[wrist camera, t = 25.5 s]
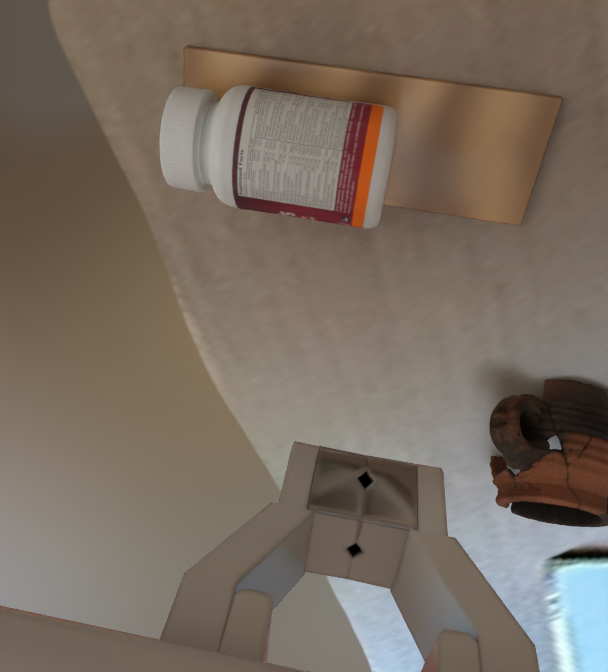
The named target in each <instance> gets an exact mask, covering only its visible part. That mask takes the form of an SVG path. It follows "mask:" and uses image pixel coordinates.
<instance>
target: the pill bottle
mask: <svg viewBox="0 0 608 672" xmlns="http://www.w3.org/2000/svg"><path fill="white" fill-rule="evenodd" d="M397 125H398V113H397V111H396V110H395V109H394V108H392V107H390V106H384V105H378V104H371V103H363V102H356V101H349V100H343V99H335V98H327V97H321V96H313V95H307V94H299V93H294V92H286V91H279V90H273V89H267V88H262V87H256V86H248V85H239V86H235V87H233V88H231V89H230V90H228V91H227V92H226V93H225V94H224V96H223V97H222V99H221V100H220V102H219V100H218V97H217V95H216V93H215V92H214V91H212V90H209V89H198V88H192V87H184V86H179V87H177V88H175V89H174V90H173V91H172V92H171V94H170V95H169V98H168V100H167V102H166V105H165V108H164V112H163V116H162V122H161V130H160V161H161V166H162V171H163V174H164V177H165V180H166V181H167V183H168V184H169V185H170V186H172V187H174V188H179V189H186V190H192V191H195V192H205V191H207V190H208V189H209V187H210V186H211V185H212V186H213V189H214V192H215V194H216V195H217V197H218V198H219V199H220V200H221V201H222V202H223V203H224V204H226V205H228V206H231V207H236V208H240V209H247V210H254V211H262V212H268V213H275V214H281V215H286V216H293V217H299V218H305V219H311V220H317V221H324V222H329V223H336V224H342V225H348V226H354V227H361V228H368V229H371V228H374V227H376V226H377V225H378V224H379V222H380V218H381V214H382V209H383V204H384V198H385V193H386V188H387V183H388V178H389V173H390V168H391V162H392V157H393V151H394V145H395V138H396V132H397Z"/></svg>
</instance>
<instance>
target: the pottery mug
mask: <svg viewBox="0 0 608 672" xmlns="http://www.w3.org/2000/svg"><path fill="white" fill-rule="evenodd" d="M544 386H545V392H544V398H543V401H542V400H540V399H539V398H538V397H536V396H534V395H529V394H523V395H520V396H510V397H508V398H505V399H503V400H501V401H500V402H499V403H498V405H497V406H496V407H495V409H494V410H493V412H492V415H491V418H490V434H491V438H492V441H493V443H494V445H495V447H496V448H497V449H498V451H499V452H501V453H502V454H503V456H504V458H502V457H497V456H492V457H491V462H490V467H491V470H492V475H493V478H494V479H493V483H494V485H496V486H497V488H498V495H497V497H496V503H497V504H498V505H499V506H502V507H505V508H507V507H509V503H512V505H511V511H512V513H514V514H516V515H519V516H522V517H525V518H528V519H533V520H537V521H541V522H546V523H552V524H559V525H566V526H579V527H601V526H608V392H605V391H604V390H602V389H599V388H596V387H594V386H592V385H590V384H583V383H580V382H574V381H562V380H548V381H546V382H545V385H544ZM554 435H557V436H558V438H559V441H560V445H561V447H562V450H557V449H551V450H550V449H549V448H550V445H549V443H548V441H547V440H548V439H549V438H551V437H553V436H554ZM507 465H508V466H509V467H511V468H513V469H519V470H520V472H519V473H518V474H516V475H515V474H514V473H513V472H512V471H511V470H510V469H508V468H507Z"/></svg>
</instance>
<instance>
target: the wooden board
mask: <svg viewBox="0 0 608 672" xmlns="http://www.w3.org/2000/svg"><path fill="white" fill-rule="evenodd" d="M184 83H185V87H192V88H198V89H209V90H212V91H214V92H215V93H216V95H217V97H218V100H219V102H220V100H221V99H222V97H223V96H224V94H225V93H226V92H227V91H228V90H230V89H231V88H233V87H235V86H239V85H248V86H256V87H262V88H267V89H273V90H279V91H286V92H294V93H299V94H307V95H313V96H321V97H327V98H335V99H343V100H349V101H356V102H363V103H371V104H378V105H384V106H390V107H392V108H394V109H395V110H396V111H397V113H398V125H397V132H396V138H395V145H394V151H393V157H392V162H391V168H390V173H389V178H388V183H387V188H386V193H385V198H384V204H383V205H388V206H394V207H401V208H408V209H414V210H421V211H427V212H434V213H440V214H447V215H454V216H460V217H467V218H473V219H480V220H487V221H493V222H500V223H506V224H513V225H521V223H522V220H523V217H524V214H525V211H526V208H527V205H528V202H529V199H530V196H531V193H532V190H533V187H534V184H535V181H536V178H537V175H538V172H539V169H540V166H541V163H542V160H543V157H544V154H545V151H546V148H547V145H548V142H549V139H550V136H551V133H552V130H553V127H554V124H555V121H556V118H557V115H558V112H559V109H560V106H561V103H562V100H563V98H562V97H561V96H555V95H548V94H540V93H533V92H526V91H518V90H511V89H503V88H496V87H488V86H481V85H474V84H466V83H459V82H451V81H444V80H436V79H429V78H421V77H414V76H407V75H399V74H392V73H384V72H377V71H369V70H362V69H355V68H347V67H340V66H332V65H325V64H317V63H310V62H302V61H295V60H288V59H280V58H273V57H265V56H258V55H250V54H243V53H236V52H228V51H221V50H213V49H206V48H198V47H191V46H187V47H184Z"/></svg>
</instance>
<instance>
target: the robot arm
mask: <svg viewBox="0 0 608 672" xmlns="http://www.w3.org/2000/svg"><path fill="white" fill-rule="evenodd" d="M318 448H319V450H318ZM317 455H318V456H317ZM305 572H310V573H316V574H322V575H327V576H333V577H339V578H345V579H350V580H354V581H359V582H363V583H367V584H372V585H376V586H380V587H385V588H389V589H391V590H390V591H391V593H392V595H393V597H394V600H395V602H396V604H397V606H398V608H399V610H400V612H401V614H402V616H403V618H404V620H405V622H406V624H407V626H408V628H409V630H410V632H411V634H412V636H413V638H414V640H415V642H416V645H417V647H418V649H419V651H420V653H421V655H422V657H423V659H424V661H425V664H424V666H423V669H422V671H421V672H540V671H539V665H538V660H537V654H536V649H535V645H534V644H533V642H532V641H531V639H530V638H529V637H528V635H527V634H526V633H525V631H524V630H523V629H522V627H521V626H520V625H519V623H518V622H517V621H516V619H515V618H514V616H513V615H512V614H511V612H510V611H509V610H508V608H507V607H506V606H505V604H504V603H503V602H502V600H501V599H500V598H499V596H498V595H497V594H496V592H495V591H494V589H493V588H492V587H491V585H490V584H489V583H488V581H487V580H486V579H485V577H484V576H483V575H482V573H481V572H480V571H479V569H478V568H477V566H476V565H475V564H474V562H473V561H472V560H471V558H470V557H469V556H468V554H467V553H466V552H465V550H464V549H463V548H462V546H461V545H460V544H459V542H458V541H457V539H456V538H453V537H449V536H448V533H447V518H446V503H445V488H444V473H443V471H442V469H441V468H437V467H431V466H425V465H420V464H416V465H415V464H413V463H408V462H402V461H396V460H390V459H385V458H379V457H373V456H365V455H361V454H356V453H351V452H346V451H341V450H337V449H332V448H327V447H322V446H315V445H310V444H305V443H301V442H296V441H295V442H294V444H293V446H292V449H291V453H290V457H289V461H288V466H287V470H286V474H285V478H284V482H283V486H282V490H281V494H280V498H279V503H278V504H277V503H270V504H269V505H267V506H266V507H265V508H264V509H262V510H261V511H260V512H259V513H258V514H256V515H255V516H254V517H253V518H252V519H250V520H249V521H248V522H247V523H245V524H244V525H243V526H242V527H241V528H239V529H238V530H237V531H236V532H234V533H233V534H232V535H231V536H229V537H228V538H227V539H226V540H224V541H223V542H222V543H221V544H220V545H219V546H217V547H216V548H215V549H214V550H212V551H211V552H210V553H209V554H207V555H206V556H205V557H204V558H203V559H201V560H200V561H199V562H198V563H196V564H195V565H194V566H193V567H191V568H190V569H189V570H188V571H187V572H185V573H184V576H183V579H182V581H181V584H180V586H179V589H178V592H177V595H176V597H175V600H174V603H173V605H172V608H171V610H170V613H169V616H168V618H167V621H166V624H165V627H164V629H163V632H162V635H161V637H160V640H159V639H154V638H149V637H144V636H140V635H135V634H130V633H126V632H121V631H116V630H112V629H107V628H102V627H97V626H93V625H88V624H83V623H79V622H74V621H69V620H65V619H60V618H55V617H51V616H46V615H41V614H36V613H32V612H26V611H22V610H18V609H13V608H8V607H3V606H0V672H308V671H304V670H299V669H295V668H290V667H285V666H281V665H276V664H271V663H266V662H267V654H268V645H269V637H270V629H271V622H272V614H273V609H274V608H275V607H276V606H277V605H278V604H279V603H280V602H281V600H282V599H283V598H284V597H285V596H286V595H287V594H288V592H289V591H290V590H291V589H292V588H293V587H294V586H295V584H297V582H298V581H299V580H300V579H301V578H302V577H303V576H304V574H305Z"/></svg>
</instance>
